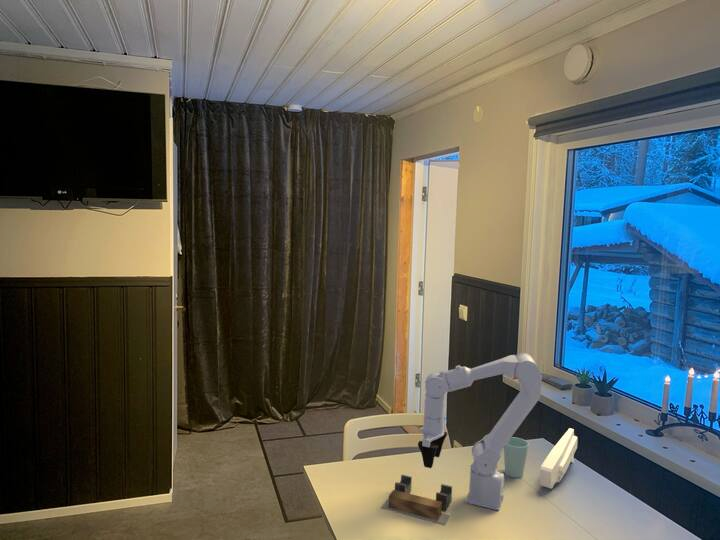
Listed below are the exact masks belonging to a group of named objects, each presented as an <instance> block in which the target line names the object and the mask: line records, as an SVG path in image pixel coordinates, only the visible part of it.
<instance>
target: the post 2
mask: <svg viewBox="0 0 720 540" xmlns="http://www.w3.org/2000/svg"><path fill="white" fill-rule="evenodd" d="M452 497H453V486H452V485H447V484H443V483H441V485H440V491H439V492H438V491H437V492H435V500H437V501H441V502H442V512H444V513H445V512H447V511H448V509H449V507H450V505H451V503H452V501H453V500H452Z"/></svg>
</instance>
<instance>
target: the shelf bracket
mask: <svg viewBox="0 0 720 540" xmlns="http://www.w3.org/2000/svg"><path fill="white" fill-rule="evenodd" d="M577 449H578V436H576V435H575V429H574V428H570V427H569V428H568V429H567V431H566V432H565V433H564V434H563V435H562V437H561V438H560V439H559V440H558V442H557V443H556V444H555V445H554V447H553V448H552V449H551V450H550V452H549V453H548V455H547V457H546V458H545V459H544V461H543V463H541V466H540V467H539V468H540V469H539V479H540V481H539V482H540V483H539V485H540V486H542V487H545V488H548V489H550V490H551V489H553V487H554V486H555V484H556V483H560V482H561V481H562V479H563V477H564V475H565V474H566V472H567V471H568V469H569V466H570V464H571V463H574V460H575V459H574V455H575V453H576V451H577Z"/></svg>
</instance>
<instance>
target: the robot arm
mask: <svg viewBox="0 0 720 540" xmlns="http://www.w3.org/2000/svg"><path fill="white" fill-rule="evenodd" d="M438 372H439V373H437V372H432V373H430V374H428V376H427V377H426V379H425V382H424V383H425V395H424V396H425V399H424V411H423V427H420V428H419V431H418V432H420V433H422V440H419V441H418V442H417V447H418V448H419V450H420V453H421V457H422V463H423V467H424V468H428V469H432V468H433V465H434V460H435V458H440V456H441V452H442V450H443V449H442V448H443V444H444V443H445V439H446V438H447V436H448V432H447V431H445V429H444V428H445V411H446V410H445V408H446V400H445V395H446V393H447V392H448V393H451V392H455V391H457V390H461V389H464V388H468V387H471V386H472V384H473V382H474V381H478V380H481V379H486V378H490V377H495V376H499V375H503V376H506V377H509V378H511V379H515V376H516V378H517V380H518V383H519V389H520V391H519V392H518V394H516V397H514V399H513V400H512V402H511V403H510V404H509V406H508V407H507V409H506V410H505V411H504V413H503V414H502V416H500V418H499V420H498V421H497V422H496V424H495V425H494V426H493V428H492V429H491V431H490V432H489V433H488V434H486V435H484V436H483V438H482V439H481V440H479V441H476V442H475V443H474V444H473V445H472V448H471V454H472V458H473V462H472V464H470V471H469V488H468V489H469V490H468V494H467V495H466V498H465V499H464V502H465V504H466V503H467V504H471V505H475V506H478V507H483V508H486V509H490V510H495V511H499V510H500V508H501V506H502V502H503V500H504V488H505V474H504V472H503V473H502V472H499V471H498V470H497V469H498V462H499V461H500V459H501V458H502V456H503V452H504V446H505V445H506V443H507V442H508V441H509V439H510V438H511V437H513V435H514V434H515V433H516V431H517V430H518V429H519V428H520V426H521V425H522V423H523V421H524V420H525V419H526V417H527V416H528V415H529V414H530V412H531V411H532V410H533V408H534V407H535V406H536V404H537V403H538V401H539V400H540V398H541V395H542V380H543V375H542V372H541V370H540V367H539V365H538V364H537V363H536V361H535V359H534V358H533V357H532V356H531V355H530V354H529V353H527V352H526V353H525V352H520V353H516V355H515V354H511V355H507V356H505V357H502V358H499V359H496V360H492V361H490V362H487V363H484V364H481V365H478V366H475V367H472V368H470V367H467V366H461V365H460V364H459V365H456V366H455V368H453V369H449V370H446V371H444V370H440V371H438Z"/></svg>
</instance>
